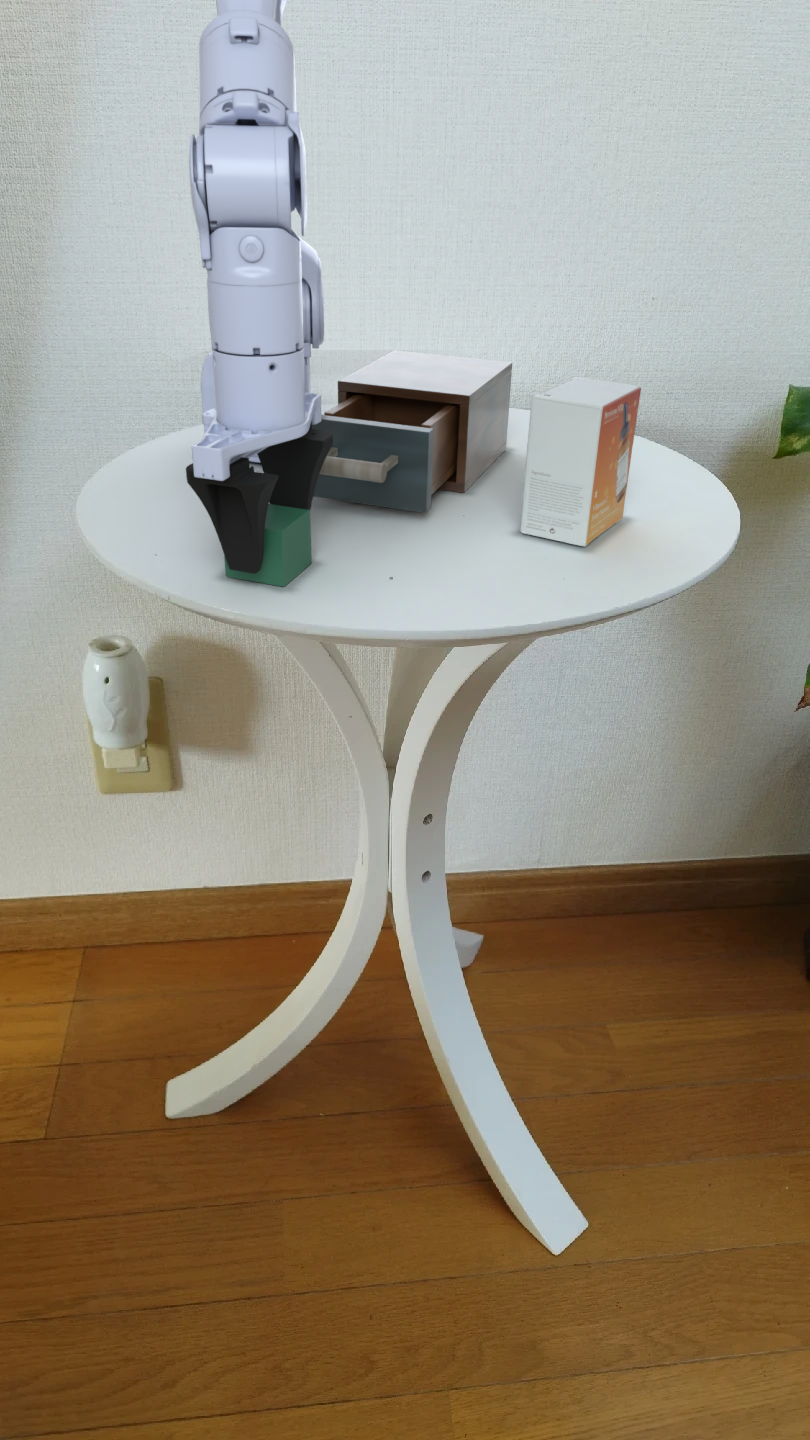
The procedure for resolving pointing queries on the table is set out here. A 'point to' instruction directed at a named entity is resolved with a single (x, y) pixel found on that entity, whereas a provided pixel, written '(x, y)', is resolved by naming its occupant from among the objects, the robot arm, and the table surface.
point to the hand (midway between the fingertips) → (268, 551)
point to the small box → (578, 459)
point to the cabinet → (447, 400)
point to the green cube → (282, 547)
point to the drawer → (388, 451)
